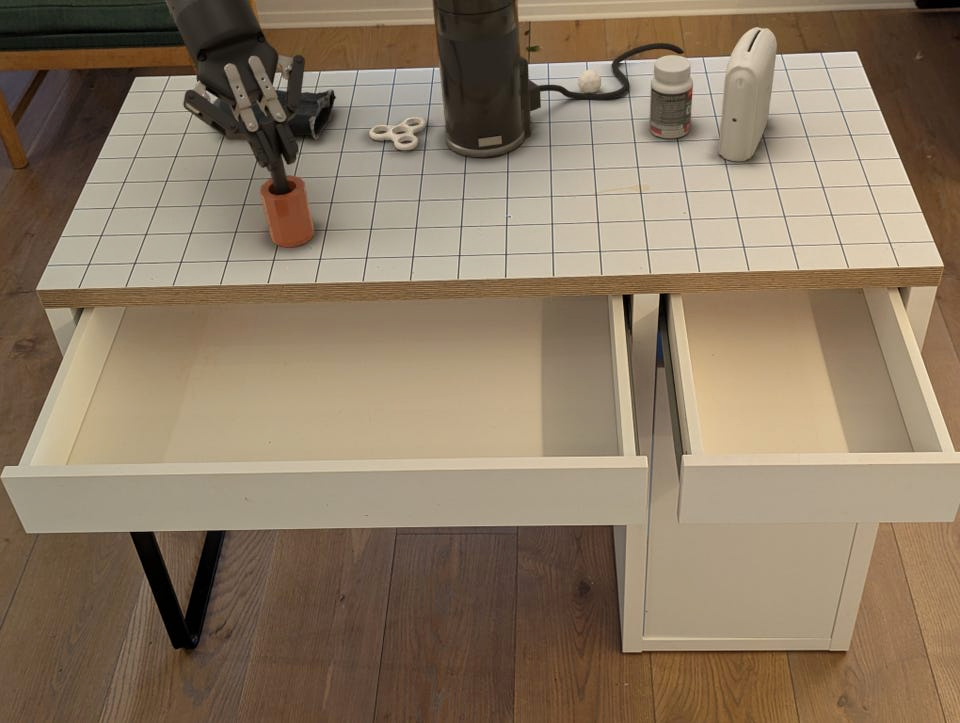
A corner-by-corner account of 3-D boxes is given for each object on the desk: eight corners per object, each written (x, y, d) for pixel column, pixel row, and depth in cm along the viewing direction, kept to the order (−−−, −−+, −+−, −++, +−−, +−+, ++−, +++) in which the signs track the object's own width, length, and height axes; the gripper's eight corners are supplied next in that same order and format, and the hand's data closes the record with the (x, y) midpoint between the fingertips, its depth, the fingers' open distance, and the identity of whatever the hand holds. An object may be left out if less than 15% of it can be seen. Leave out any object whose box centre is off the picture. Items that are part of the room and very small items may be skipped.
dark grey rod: (292, 214, 115) (270, 114, 107) (298, 220, 114) (276, 120, 106) (279, 219, 114) (256, 118, 106) (285, 225, 113) (262, 125, 105)
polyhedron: (601, 86, 135) (601, 64, 133) (600, 98, 133) (601, 76, 131) (578, 87, 135) (578, 65, 133) (577, 98, 133) (577, 76, 131)
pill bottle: (693, 137, 124) (698, 70, 119) (653, 141, 124) (656, 75, 119) (685, 117, 128) (689, 51, 122) (645, 121, 128) (648, 55, 122)
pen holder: (303, 217, 118) (293, 170, 114) (321, 236, 115) (311, 189, 111) (264, 232, 116) (253, 185, 112) (282, 252, 113) (270, 204, 109)
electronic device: (340, 114, 137) (228, 95, 139) (337, 78, 133) (221, 58, 134) (318, 161, 131) (201, 140, 133) (314, 125, 127) (194, 104, 129)
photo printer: (751, 165, 119) (763, 61, 111) (713, 159, 121) (722, 56, 112) (771, 120, 126) (784, 19, 118) (735, 115, 127) (745, 15, 119)
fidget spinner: (422, 119, 132) (421, 113, 131) (438, 144, 127) (437, 138, 126) (367, 132, 130) (366, 126, 130) (381, 157, 126) (380, 152, 125)
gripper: (145, 9, 101) (223, 176, 102) (277, -30, 106) (352, 130, 106) (142, 42, 108) (215, 199, 109) (267, 5, 113) (336, 154, 113)
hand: (283, 164), depth 108 cm, fingers closed on dark grey rod, 1 cm apart
